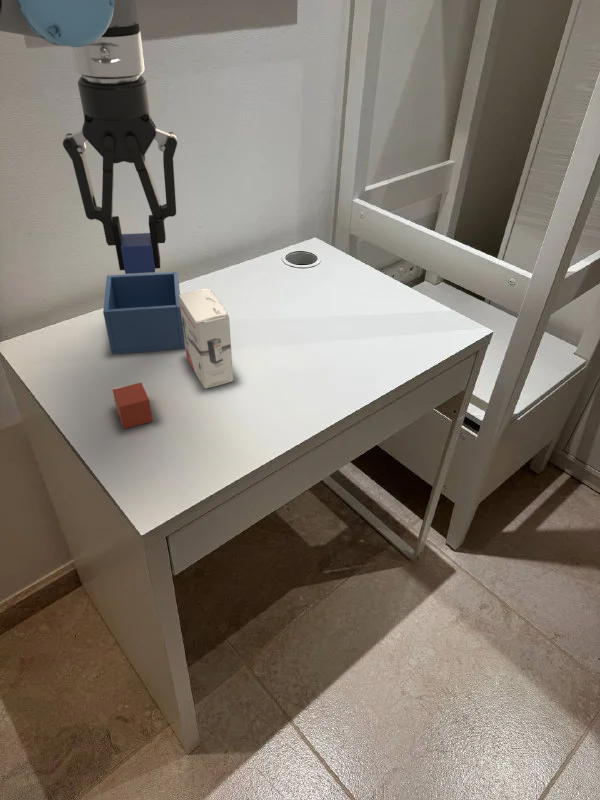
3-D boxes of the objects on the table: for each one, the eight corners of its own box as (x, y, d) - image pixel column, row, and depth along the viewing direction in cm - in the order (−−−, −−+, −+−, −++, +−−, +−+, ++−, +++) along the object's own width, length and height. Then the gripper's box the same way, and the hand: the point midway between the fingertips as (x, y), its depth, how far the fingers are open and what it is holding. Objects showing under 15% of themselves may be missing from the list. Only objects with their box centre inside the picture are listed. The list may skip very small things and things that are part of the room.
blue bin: (111, 354, 91) (103, 312, 86) (114, 316, 99) (106, 275, 94) (185, 348, 93) (180, 306, 88) (181, 311, 101) (177, 271, 96)
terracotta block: (123, 429, 78) (119, 407, 75) (116, 411, 81) (112, 389, 78) (152, 421, 80) (149, 399, 77) (145, 403, 82) (141, 382, 80)
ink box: (184, 359, 91) (177, 292, 83) (214, 351, 93) (210, 285, 85) (203, 391, 85) (197, 322, 77) (234, 382, 87) (232, 314, 79)
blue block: (125, 274, 79) (120, 246, 76) (126, 260, 82) (121, 233, 79) (155, 272, 79) (151, 245, 77) (155, 259, 82) (151, 232, 80)
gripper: (25, 83, 61) (73, 281, 76) (189, 83, 64) (203, 274, 79) (36, 68, 67) (79, 255, 82) (186, 69, 69) (200, 249, 85)
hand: (140, 264), depth 80 cm, fingers closed on blue block, 4 cm apart
